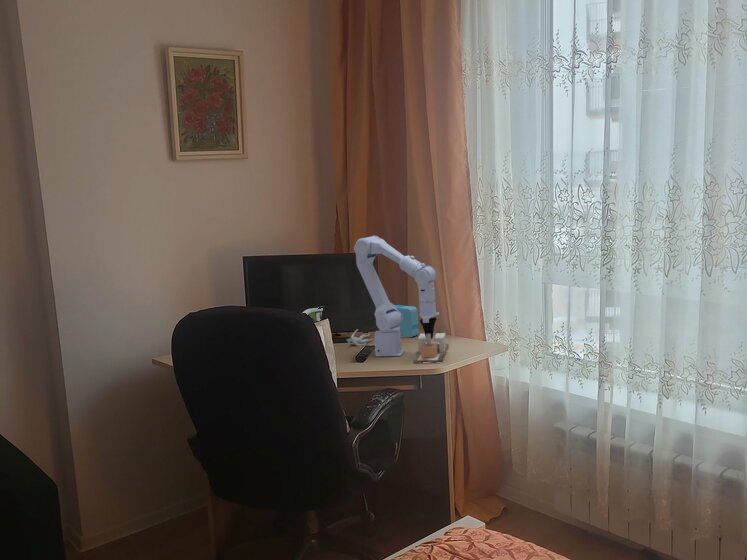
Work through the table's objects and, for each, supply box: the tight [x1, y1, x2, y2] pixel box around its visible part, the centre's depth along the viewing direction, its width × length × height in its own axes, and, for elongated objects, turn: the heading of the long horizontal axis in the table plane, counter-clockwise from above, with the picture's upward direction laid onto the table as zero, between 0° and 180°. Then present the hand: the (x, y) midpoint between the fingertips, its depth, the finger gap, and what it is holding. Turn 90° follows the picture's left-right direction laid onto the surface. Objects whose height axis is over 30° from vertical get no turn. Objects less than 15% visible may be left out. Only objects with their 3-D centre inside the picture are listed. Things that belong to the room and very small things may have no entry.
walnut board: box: [412, 343, 449, 364], centre depth 274 cm, size 10×24×1 cm, turn 169°
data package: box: [394, 304, 420, 338], centre depth 307 cm, size 12×4×12 cm, turn 48°
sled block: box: [421, 333, 438, 358], centre depth 268 cm, size 5×6×8 cm
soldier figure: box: [346, 328, 374, 347], centre depth 298 cm, size 8×5×12 cm
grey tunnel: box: [417, 332, 447, 353], centre depth 277 cm, size 9×8×5 cm
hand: (429, 338), depth 270 cm, fingers closed
